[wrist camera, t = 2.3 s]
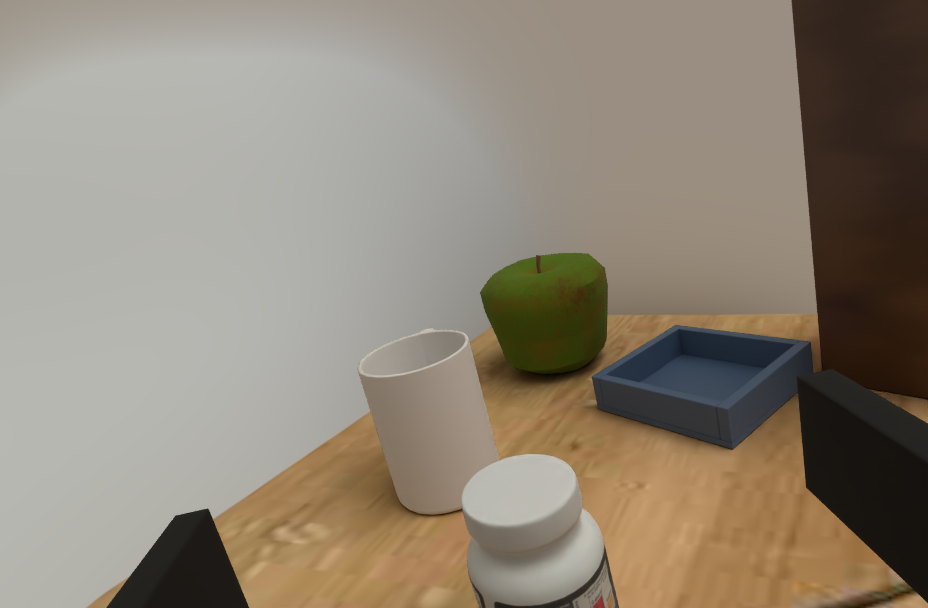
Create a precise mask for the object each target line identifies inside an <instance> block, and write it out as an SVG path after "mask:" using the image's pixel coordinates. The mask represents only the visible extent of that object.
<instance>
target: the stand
mask: <svg viewBox="0 0 928 608" xmlns="http://www.w3.org/2000/svg"><path fill="white" fill-rule="evenodd" d="M792 10H793V22H794V35H795V46H796V59H797V71H798V83H799V94H800V107H801V119H802V130H803V131H802V132H803V143H804V155H805V167H806V180H807V192H808V203H809V216H810V228H811V240H812V252H813V264H814V276H815V289H816V301H817V313H818V325H819V337H820V349H821V361H822V371H825V370H830V369H834V370H835V371H837V372H839V373H841V374H842V375H844V376H846V377H848V378H849V379H851V380H853V381H854V382H856V383H858V384H860V385H861V386H863V387H865V388H870V389H875V390H881V391H887V392H893V393H898V394H904V395H910V396H916V397H922V398H927V399H928V0H792Z"/></svg>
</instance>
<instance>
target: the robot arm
mask: <svg viewBox="0 0 928 608" xmlns="http://www.w3.org/2000/svg"><path fill="white" fill-rule="evenodd" d="M797 386H798V398H799V409H800V421H801V433H802V444H803V456H804V467H805V479H806V488H807V489H808V490H809V491H811V492H812V493H813V494H814V495H815V496H816V497H817V498H818V499H819V500H820V501H821V502H822V503H823V504H824V505H825V506H826V507H827V508H828V509H829V510H831V511H832V512H833V513H834V514H835V515H836V516H837V517H838V518H839V519H840V520H841V521H842V522H843V523H844V524H845V525H846V526H847V527H848V528H849V529H851V530H852V531H853V532H854V533H855V534H856V535H857V536H858V537H859V538H860V539H861V540H862V541H863V542H864V543H865V544H866V545H867V546H868V547H869V548H871V549H872V550H873V551H874V552H875V553H876V554H877V555H878V556H879V557H880V558H881V559H882V560H883V561H884V562H885V563H886V564H887V565H888V566H889V567H891V568H892V569H893V570H894V571H895V572H896V573H897V574H898V575H899V576H900V577H901V578H902V579H903V580H904V581H905V582H906V583H907V584H908V585H909V586H911V587H912V588H913V589H914V590H915V591H916V592H917V593H918V594H919V595H920V596H921V597H922V598H923V599H924V600H925V601H926V602H927V603H928V423H926V422H924V421H922V420H921V419H919V418H917V417H915V416H914V415H912V414H910V413H908V412H907V411H905V410H903V409H902V408H900V407H898V406H896V405H895V404H893V403H891V402H889V401H888V400H886V399H884V398H882V397H881V396H879V395H877V394H875V393H874V392H872V391H870V390H868V389H867V388H865V387H863V386H861V385H860V384H858V383H856V382H854V381H853V380H851V379H849V378H848V377H846V376H844V375H842V374H841V373H839V372H837V371H835V370H834V369H830V370H825V371H821V372H816V373H812V374H808V375H803V376H799V377H797ZM107 608H249V606H248V604H247V602H246V599H245V597H244V594H243V592H242V589H241V587H240V585H239V582H238V580H237V577H236V575H235V572H234V570H233V567H232V565H231V563H230V560H229V558H228V555H227V553H226V550H225V548H224V546H223V543H222V541H221V538H220V536H219V533H218V531H217V528H216V526H215V524H214V521H213V519H212V516H211V514H210V512H209V509H204V510H199V511H195V512H190V513H186V514H181V515H177V516H175V517H174V518H173V520H172V521H171V522H170V524H169V525H168V526H167V528H166V529H165V530H164V532H163V533H162V534H161V536H160V537H159V538H158V540H157V541H156V543H155V544H154V545H153V546H152V548H151V549H150V550H149V552H148V553H147V554H146V556H145V557H144V558H143V560H142V561H141V563H140V564H139V565H138V566H137V568H136V569H135V570H134V572H133V573H132V574H131V576H130V577H129V578H128V580H127V581H126V582H125V584H124V585H123V586H122V588H121V589H120V590H119V592H118V593H117V594H116V596H115V597H114V598H113V600H112V601H111V602H110V604H109V605H108V606H107Z"/></svg>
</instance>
